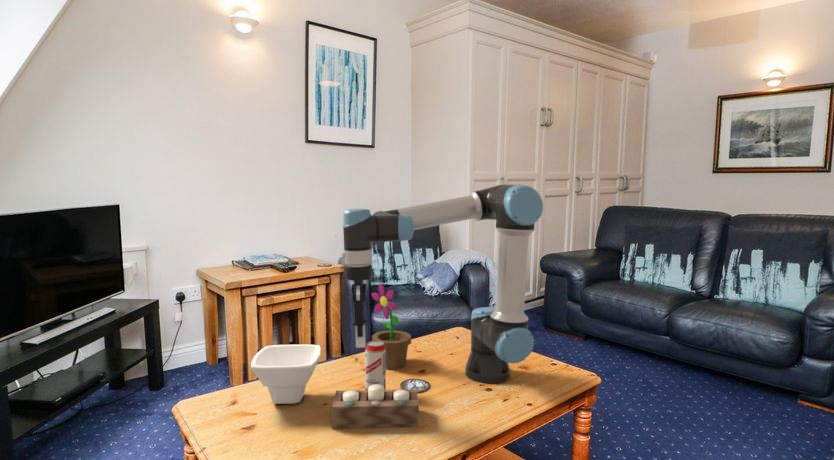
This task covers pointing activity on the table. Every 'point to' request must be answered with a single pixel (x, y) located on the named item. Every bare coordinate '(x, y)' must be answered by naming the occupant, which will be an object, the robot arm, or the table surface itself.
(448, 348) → the table surface
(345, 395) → the button
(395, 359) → the flowerpot
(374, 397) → the button middle
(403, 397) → the button
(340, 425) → the button board
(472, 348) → the robot arm
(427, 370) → the table surface
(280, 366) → the bowl
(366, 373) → the beer can
